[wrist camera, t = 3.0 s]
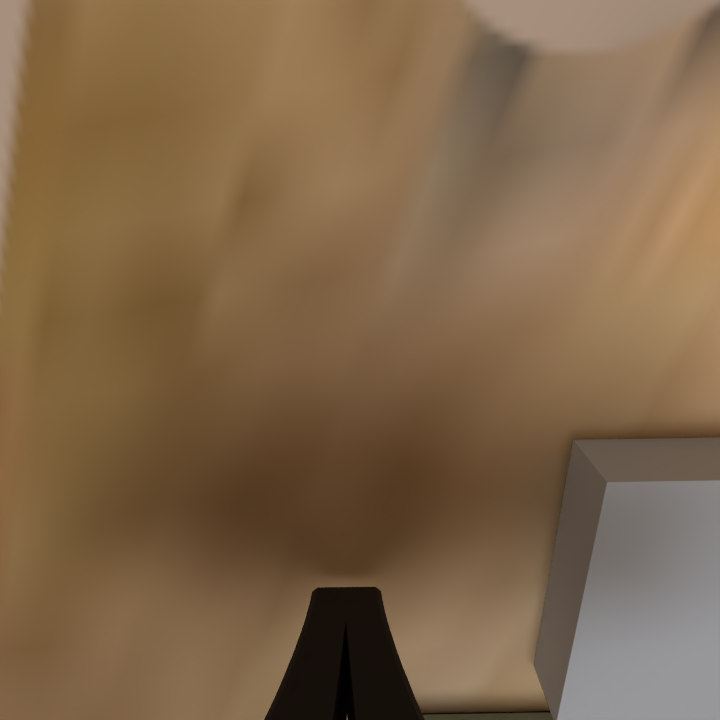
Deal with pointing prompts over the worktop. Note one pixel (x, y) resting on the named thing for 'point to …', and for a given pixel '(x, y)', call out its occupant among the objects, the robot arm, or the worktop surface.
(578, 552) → the grey square tile
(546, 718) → the tray
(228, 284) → the worktop surface
